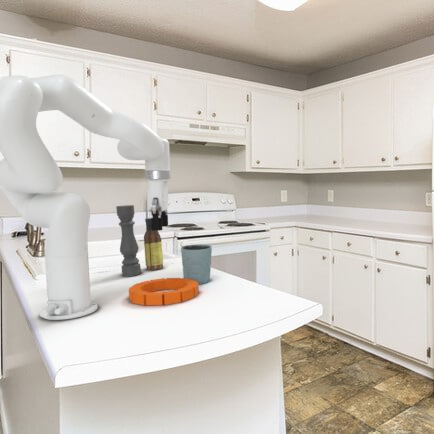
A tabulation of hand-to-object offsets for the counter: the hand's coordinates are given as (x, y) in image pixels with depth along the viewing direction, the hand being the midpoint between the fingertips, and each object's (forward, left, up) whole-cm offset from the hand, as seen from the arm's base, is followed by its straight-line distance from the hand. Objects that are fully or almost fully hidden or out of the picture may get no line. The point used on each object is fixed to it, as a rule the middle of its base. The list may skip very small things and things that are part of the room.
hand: (160, 228), depth 135 cm
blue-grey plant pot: (+2, -11, -19) cm, 22 cm away
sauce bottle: (+22, +10, -19) cm, 30 cm away
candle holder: (+13, +15, -19) cm, 27 cm away
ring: (-14, -5, -19) cm, 24 cm away
